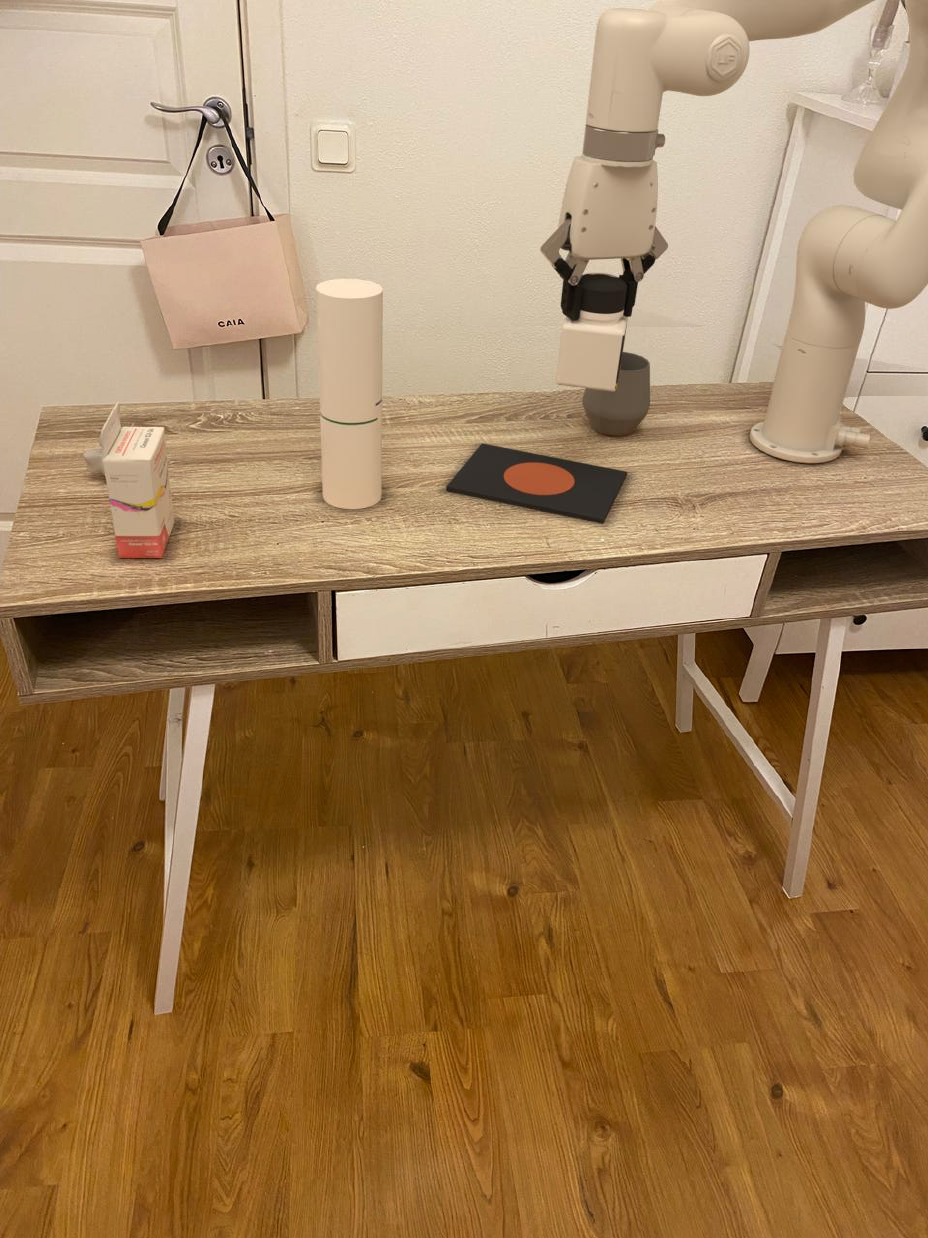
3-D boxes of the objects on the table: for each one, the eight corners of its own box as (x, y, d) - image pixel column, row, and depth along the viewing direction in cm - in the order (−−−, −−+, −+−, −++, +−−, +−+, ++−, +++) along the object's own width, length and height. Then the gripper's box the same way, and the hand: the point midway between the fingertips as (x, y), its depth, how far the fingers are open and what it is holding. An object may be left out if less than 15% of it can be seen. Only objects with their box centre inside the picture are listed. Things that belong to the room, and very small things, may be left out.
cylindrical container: (390, 488, 124) (392, 284, 109) (367, 513, 118) (366, 302, 104) (337, 477, 125) (333, 275, 111) (312, 502, 120) (304, 291, 106)
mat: (626, 475, 130) (627, 470, 130) (603, 523, 119) (603, 518, 119) (481, 447, 135) (481, 442, 135) (445, 490, 124) (446, 485, 124)
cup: (599, 410, 148) (609, 343, 142) (656, 427, 143) (668, 360, 138) (567, 429, 141) (575, 361, 135) (625, 448, 137) (636, 378, 131)
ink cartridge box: (165, 559, 107) (147, 432, 99) (117, 559, 107) (96, 432, 99) (177, 520, 114) (161, 399, 106) (132, 520, 114) (113, 398, 106)
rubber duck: (146, 483, 121) (138, 422, 117) (89, 491, 119) (78, 429, 114) (140, 464, 125) (131, 404, 121) (85, 471, 123) (74, 410, 119)
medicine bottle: (615, 392, 117) (631, 289, 110) (555, 385, 117) (567, 281, 111) (619, 371, 122) (634, 272, 116) (562, 364, 123) (573, 265, 116)
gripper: (671, 138, 111) (645, 301, 121) (529, 139, 105) (515, 309, 116) (707, 151, 105) (677, 320, 116) (560, 153, 100) (542, 330, 110)
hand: (596, 313), depth 115 cm, fingers closed on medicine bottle, 6 cm apart
